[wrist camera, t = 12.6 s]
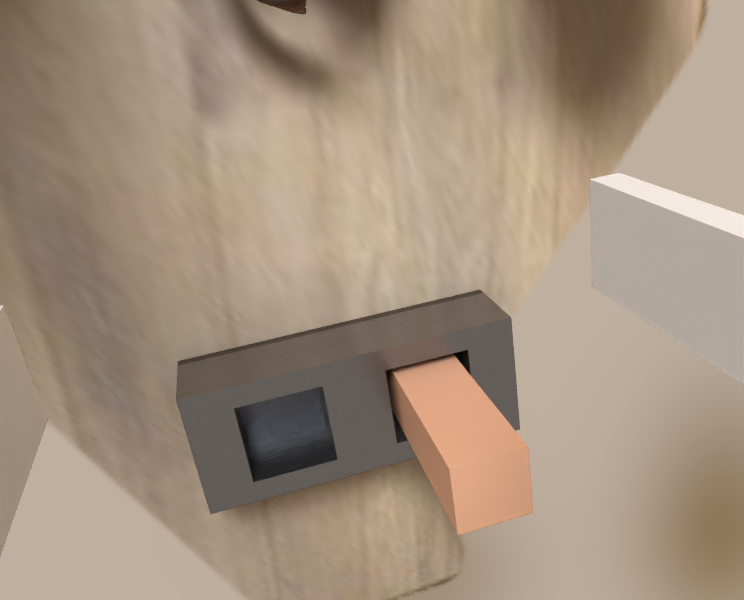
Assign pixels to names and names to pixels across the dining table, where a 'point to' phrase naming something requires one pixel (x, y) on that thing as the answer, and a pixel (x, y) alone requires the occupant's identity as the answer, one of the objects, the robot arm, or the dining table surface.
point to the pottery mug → (288, 5)
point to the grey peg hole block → (329, 396)
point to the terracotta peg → (461, 443)
